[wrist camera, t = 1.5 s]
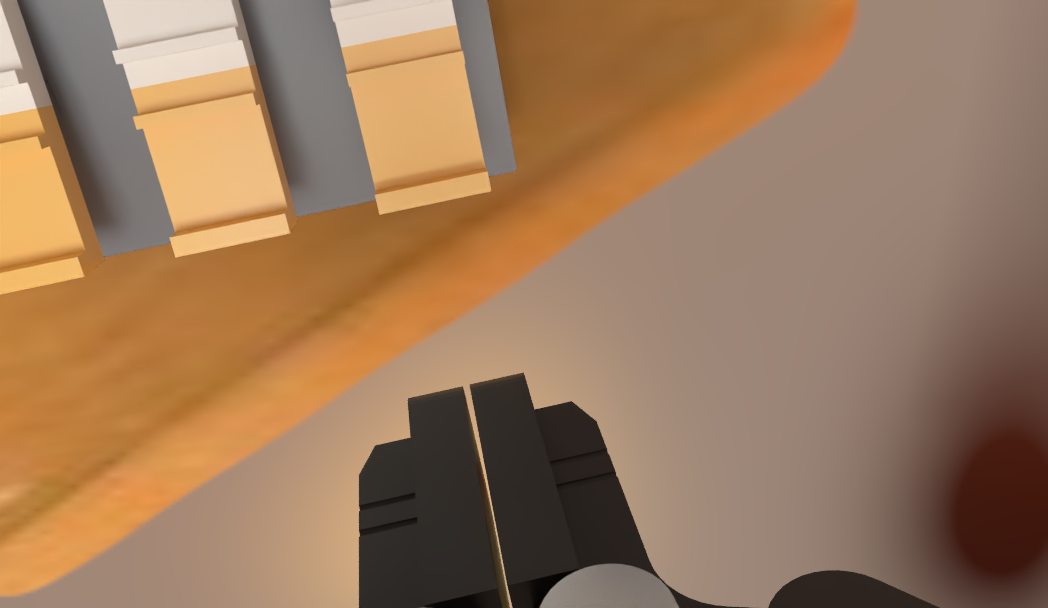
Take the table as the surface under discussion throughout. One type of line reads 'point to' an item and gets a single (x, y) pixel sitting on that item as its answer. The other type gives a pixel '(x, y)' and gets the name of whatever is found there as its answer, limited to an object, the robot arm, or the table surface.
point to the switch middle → (203, 120)
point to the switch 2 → (411, 100)
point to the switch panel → (290, 93)
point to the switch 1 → (36, 175)
